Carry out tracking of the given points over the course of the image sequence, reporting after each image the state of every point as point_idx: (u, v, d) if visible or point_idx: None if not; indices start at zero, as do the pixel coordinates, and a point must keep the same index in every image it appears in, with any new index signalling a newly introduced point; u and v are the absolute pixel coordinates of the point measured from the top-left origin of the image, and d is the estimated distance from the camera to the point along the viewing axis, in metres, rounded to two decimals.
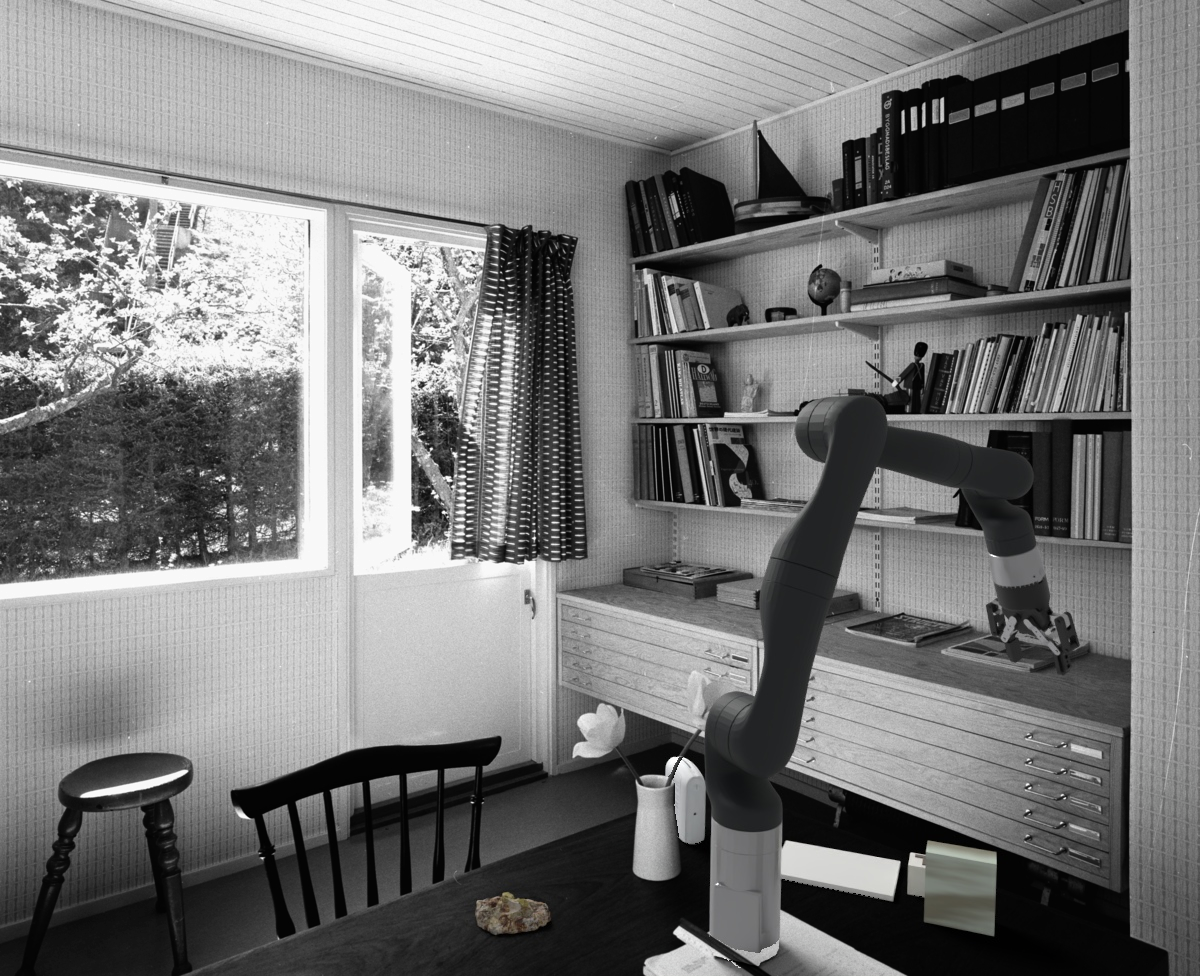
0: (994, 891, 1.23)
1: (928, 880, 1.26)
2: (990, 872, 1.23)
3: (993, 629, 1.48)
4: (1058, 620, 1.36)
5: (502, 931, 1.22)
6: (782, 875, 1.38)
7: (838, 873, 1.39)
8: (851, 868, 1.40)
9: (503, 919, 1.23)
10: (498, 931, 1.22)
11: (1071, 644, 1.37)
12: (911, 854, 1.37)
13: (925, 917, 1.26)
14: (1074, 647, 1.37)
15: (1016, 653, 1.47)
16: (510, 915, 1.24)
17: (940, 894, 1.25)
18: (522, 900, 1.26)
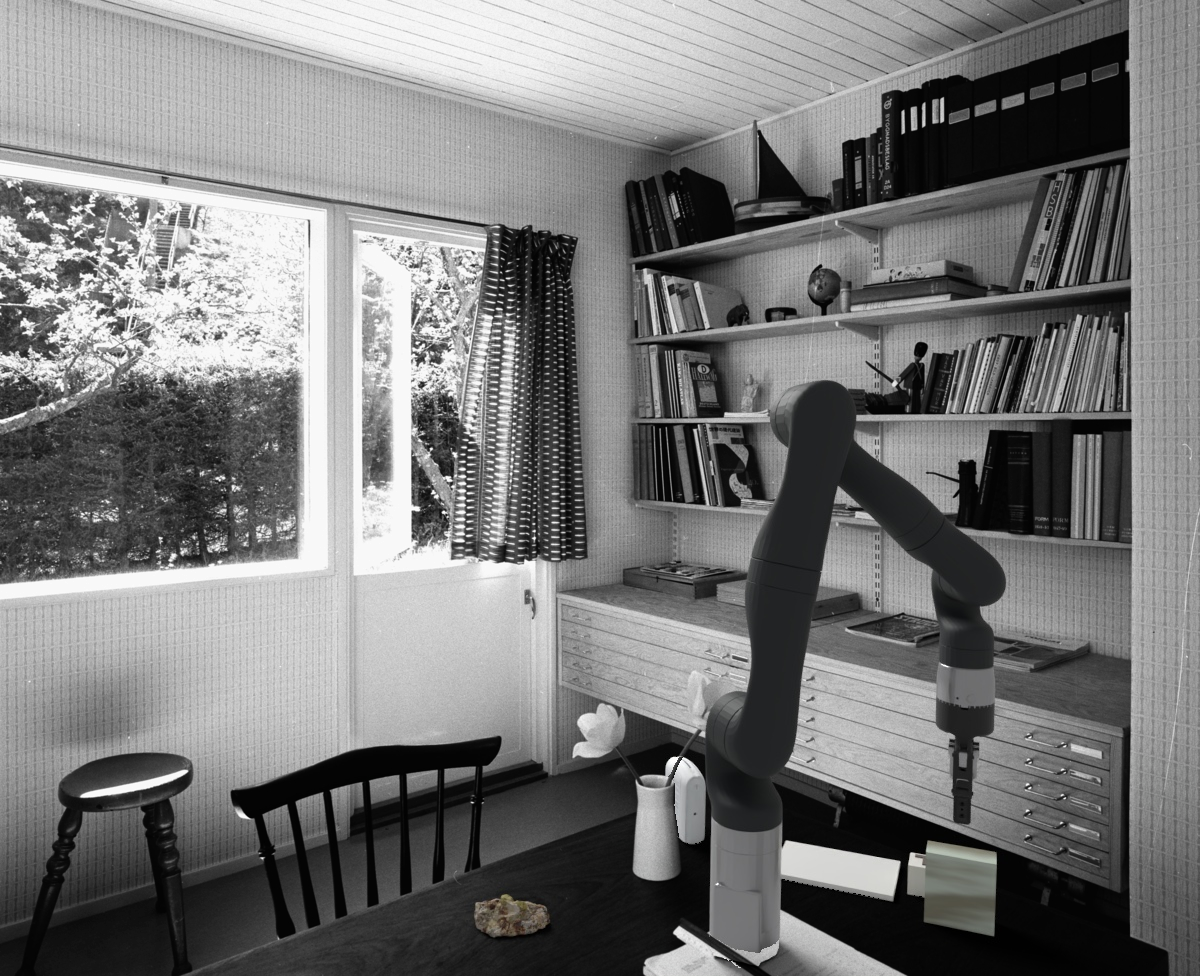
0: (994, 891, 1.23)
1: (928, 880, 1.26)
2: (990, 872, 1.23)
3: None
4: (953, 753, 1.20)
5: (500, 934, 1.21)
6: (782, 875, 1.38)
7: (838, 873, 1.39)
8: (851, 868, 1.40)
9: (502, 922, 1.22)
10: (496, 934, 1.21)
11: (961, 789, 1.19)
12: (911, 854, 1.37)
13: (925, 917, 1.26)
14: (961, 793, 1.19)
15: None
16: (508, 918, 1.23)
17: (940, 894, 1.25)
18: (521, 902, 1.25)
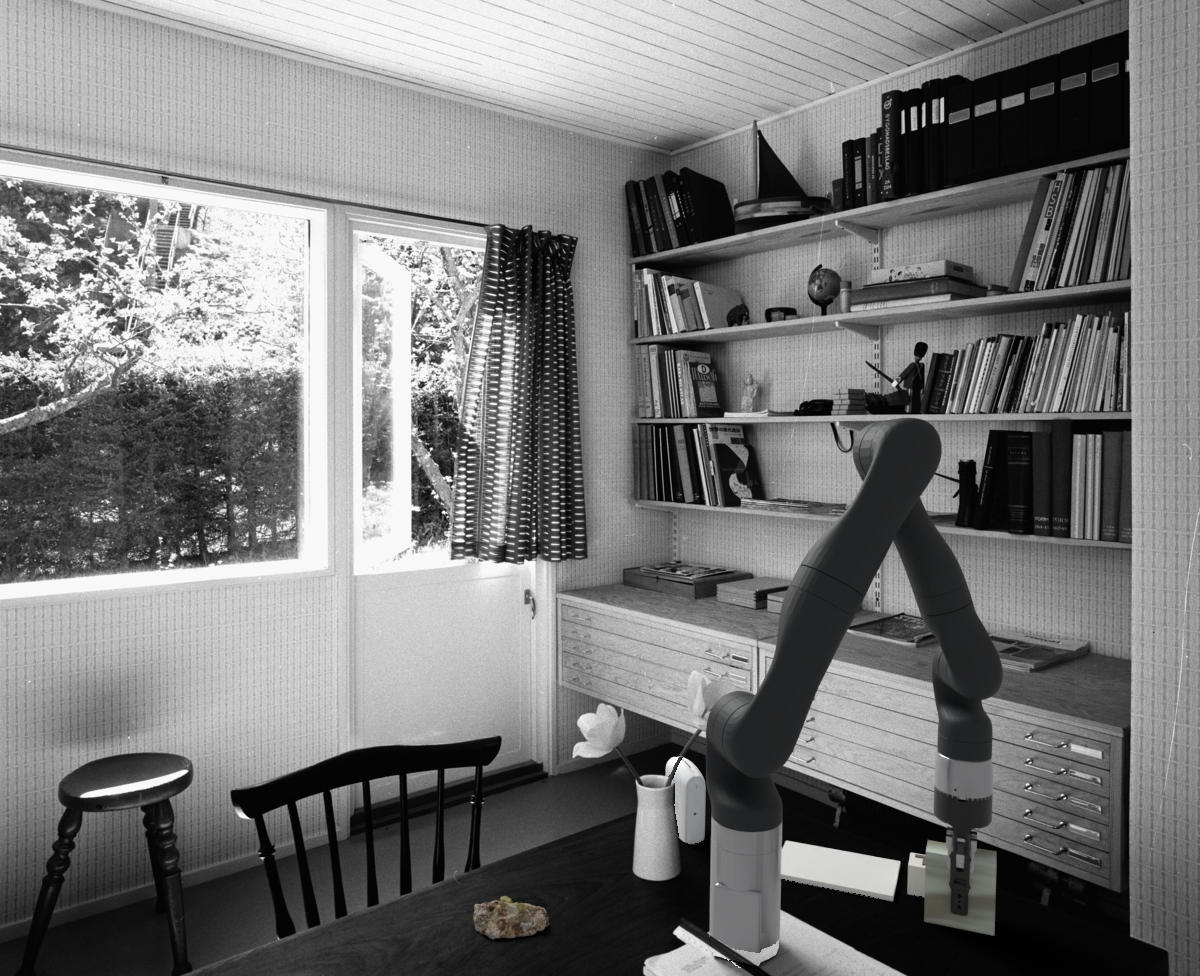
0: (994, 890, 1.23)
1: (928, 879, 1.26)
2: (990, 871, 1.23)
3: None
4: (950, 855, 1.21)
5: (499, 936, 1.21)
6: (782, 875, 1.38)
7: (838, 873, 1.39)
8: (851, 868, 1.40)
9: (501, 923, 1.22)
10: (495, 936, 1.21)
11: (959, 882, 1.22)
12: (911, 854, 1.37)
13: (925, 917, 1.26)
14: (959, 886, 1.22)
15: None
16: (508, 920, 1.23)
17: (940, 894, 1.25)
18: (520, 904, 1.24)
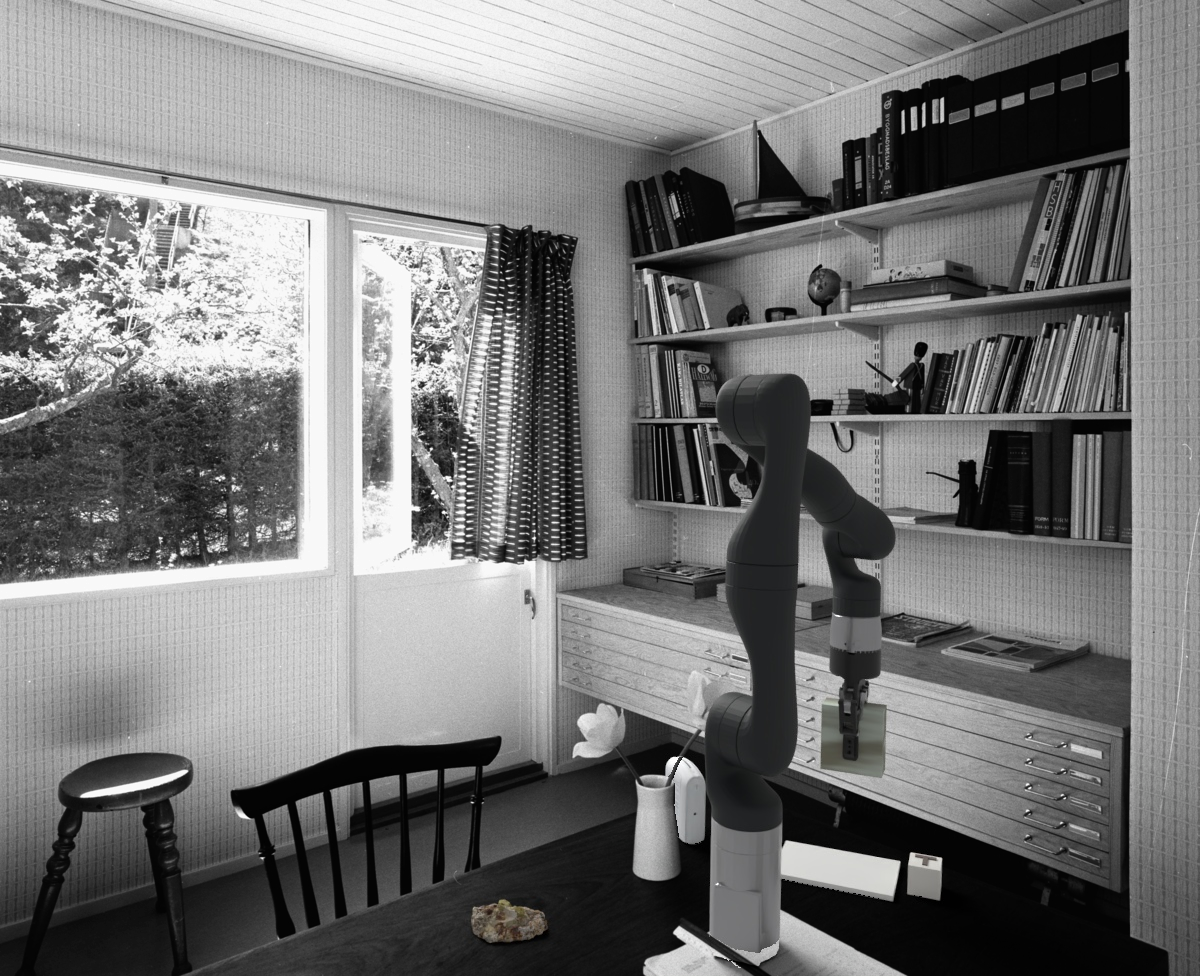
0: (881, 736, 1.34)
1: (823, 730, 1.38)
2: (878, 719, 1.34)
3: None
4: (838, 701, 1.32)
5: (497, 939, 1.20)
6: (782, 875, 1.38)
7: (838, 873, 1.39)
8: (851, 868, 1.40)
9: (498, 927, 1.21)
10: (493, 939, 1.20)
11: (848, 727, 1.34)
12: (911, 854, 1.37)
13: (821, 764, 1.38)
14: (847, 731, 1.33)
15: None
16: (506, 923, 1.22)
17: (834, 742, 1.37)
18: (518, 908, 1.23)
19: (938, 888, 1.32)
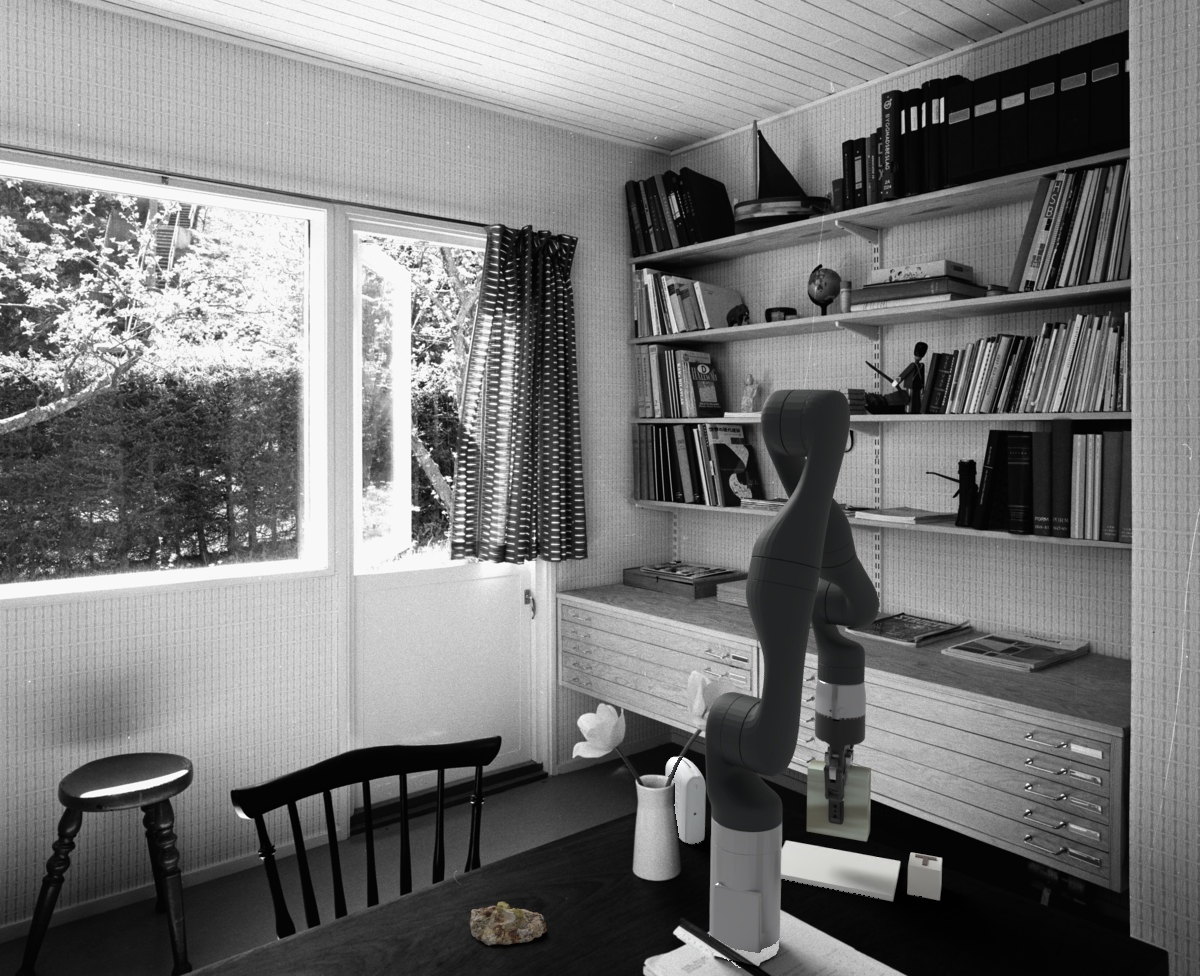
0: (866, 801, 1.37)
1: (809, 793, 1.40)
2: (863, 783, 1.37)
3: None
4: (824, 768, 1.35)
5: (496, 942, 1.19)
6: (782, 875, 1.38)
7: (838, 873, 1.39)
8: (851, 868, 1.40)
9: (497, 929, 1.20)
10: (491, 942, 1.19)
11: (833, 793, 1.36)
12: (911, 854, 1.37)
13: (807, 827, 1.41)
14: (833, 796, 1.36)
15: None
16: (504, 926, 1.21)
17: (820, 806, 1.40)
18: (517, 910, 1.23)
19: (938, 888, 1.32)
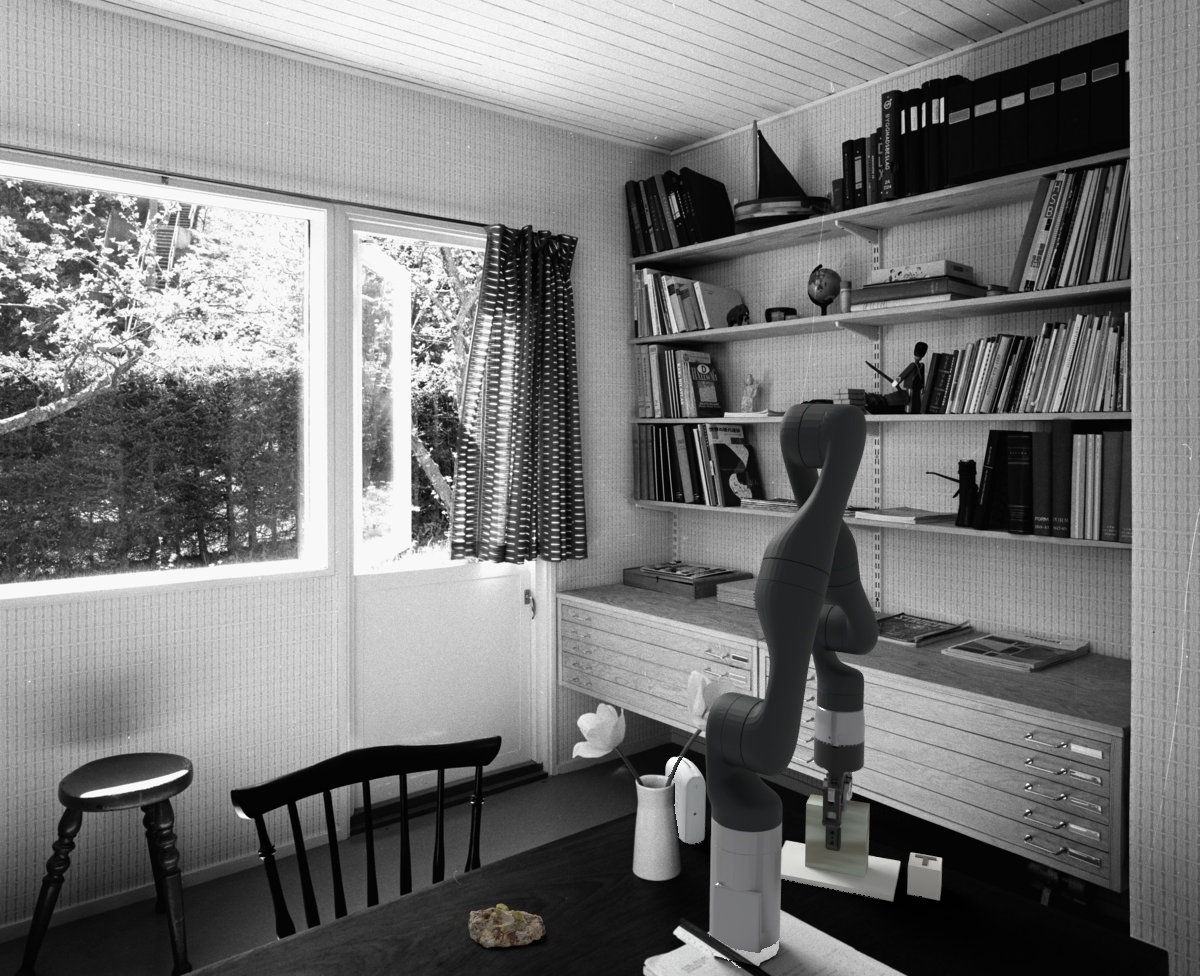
0: (864, 837, 1.37)
1: (808, 828, 1.40)
2: (861, 820, 1.37)
3: None
4: (823, 789, 1.35)
5: (494, 944, 1.19)
6: (782, 875, 1.38)
7: (838, 873, 1.39)
8: None
9: (496, 932, 1.20)
10: (490, 944, 1.19)
11: (830, 819, 1.35)
12: (911, 854, 1.37)
13: (806, 862, 1.41)
14: (830, 823, 1.34)
15: None
16: (503, 928, 1.21)
17: (819, 841, 1.40)
18: (516, 912, 1.22)
19: (938, 888, 1.32)
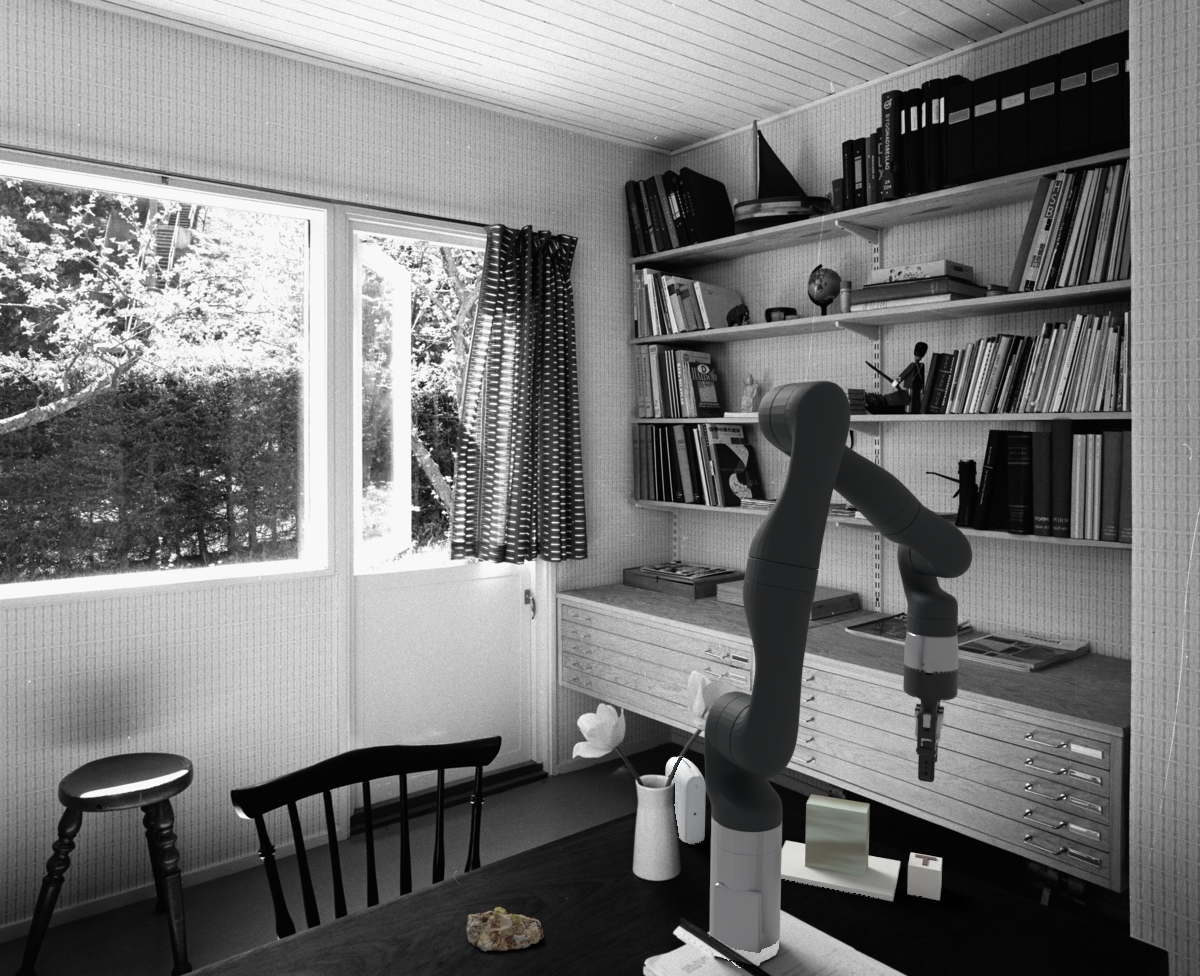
0: (864, 837, 1.37)
1: (808, 828, 1.40)
2: (861, 820, 1.37)
3: None
4: (917, 714, 1.28)
5: (492, 948, 1.18)
6: (782, 875, 1.38)
7: (838, 873, 1.39)
8: None
9: (493, 935, 1.19)
10: (487, 948, 1.18)
11: (925, 748, 1.28)
12: (911, 854, 1.37)
13: (806, 862, 1.41)
14: (925, 751, 1.28)
15: None
16: (501, 931, 1.20)
17: (819, 841, 1.40)
18: (514, 916, 1.21)
19: (938, 888, 1.32)
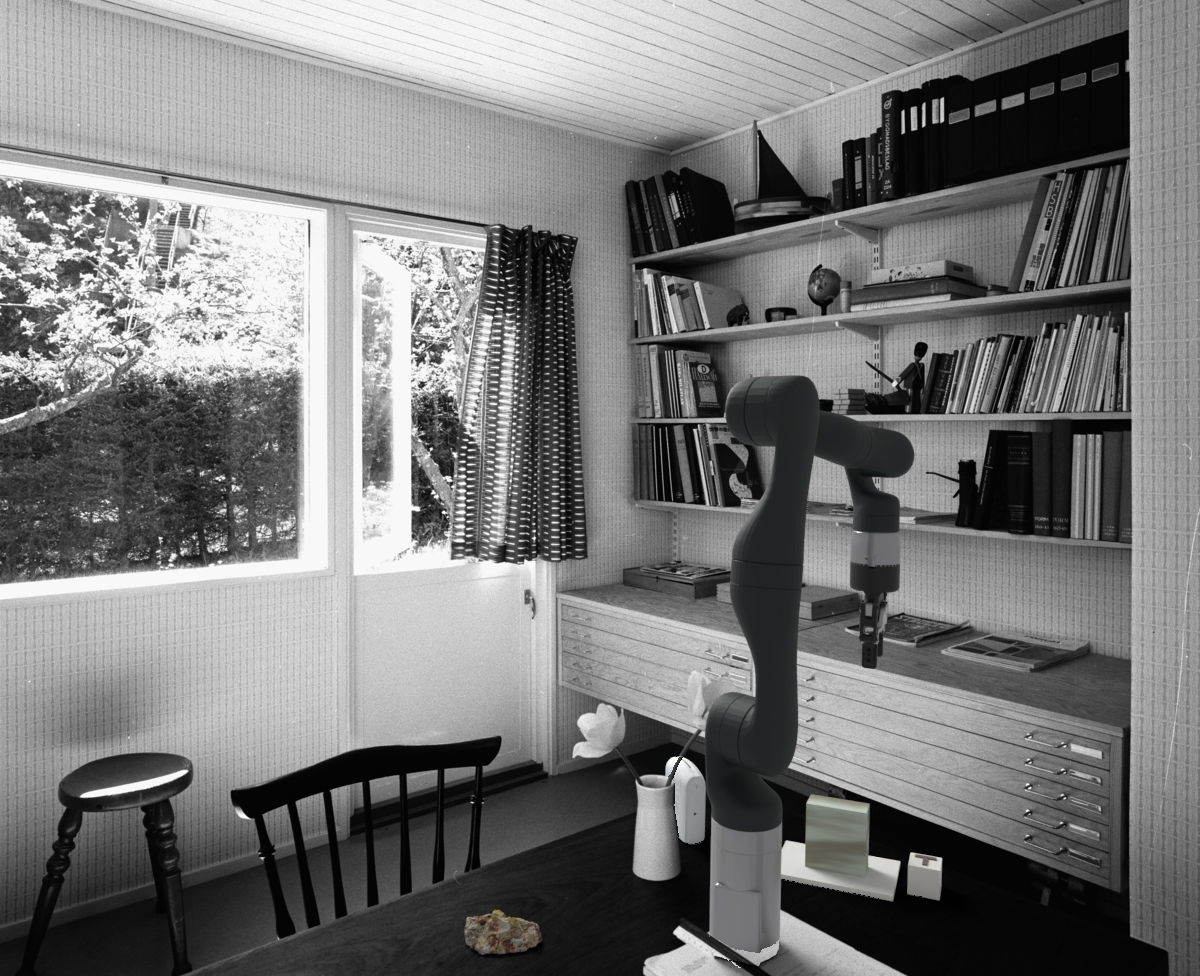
0: (864, 837, 1.37)
1: (808, 828, 1.40)
2: (861, 820, 1.37)
3: None
4: (860, 604, 1.37)
5: (489, 951, 1.17)
6: (782, 875, 1.38)
7: (838, 873, 1.39)
8: None
9: (491, 939, 1.18)
10: (485, 951, 1.17)
11: (867, 635, 1.37)
12: (911, 854, 1.37)
13: (806, 862, 1.41)
14: (867, 638, 1.36)
15: None
16: (498, 935, 1.19)
17: (819, 841, 1.40)
18: (512, 919, 1.21)
19: (938, 888, 1.32)
